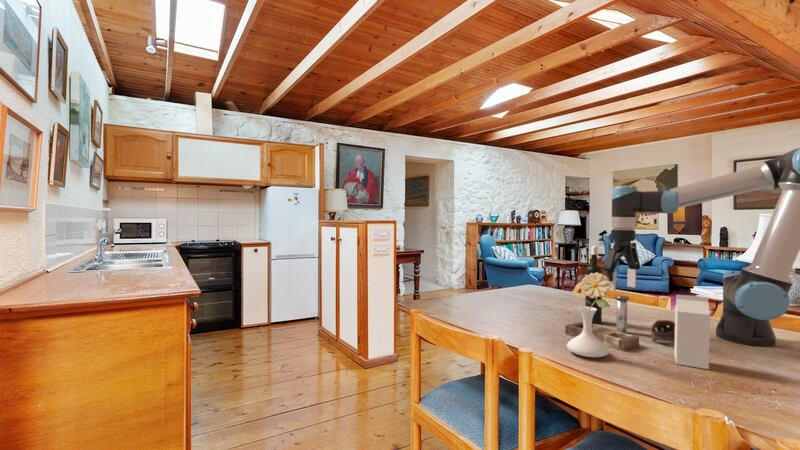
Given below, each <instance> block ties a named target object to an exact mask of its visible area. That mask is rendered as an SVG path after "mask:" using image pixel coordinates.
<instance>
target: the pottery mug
mask: <svg viewBox="0 0 800 450" xmlns="http://www.w3.org/2000/svg"><path fill="white" fill-rule="evenodd" d="M650 338H651V341H652V342H653V343H655V342H656V341H658V342H667V341H672V340H673V341H674V340H675V321H673V320H668V319H662V320H661V319H659V320H656V321H655V322H654V323H653V324H652V325H651V337H650Z"/></svg>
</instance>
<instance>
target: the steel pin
mask: <svg viewBox="0 0 800 450" xmlns="http://www.w3.org/2000/svg"><path fill="white" fill-rule="evenodd" d="M614 297H615V298H614V299H616V327H615V328H616V330H615V331H618V332H622V333H626V334H628V332H627V331H628V301H629V300H630V297H629V296H627V295H620V294H619V295H614Z"/></svg>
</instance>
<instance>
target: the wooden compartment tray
mask: <svg viewBox="0 0 800 450" xmlns="http://www.w3.org/2000/svg"><path fill="white" fill-rule="evenodd" d="M583 326H584V324H583V321H579V322H575V323H571V324H570V323H569V324H566V325H565V329H564V330H565V335H566V336H567V335H568V336H571V337H573V338H575V337H576V336H578V335H580V334H581V333H582V331H583ZM592 333H593V334H594V336H595V337H596V338H597V339H599V340H600V341H601V342H602V343H603V344H604V345H605V346H606V347H607V348H612V349H614V350H619V351H622V352H625V351H628V350H631V349H634V348H637V347H639V346H640V336H638V335H633V334H630V333H622V332H618V331H616V330H614V329H609V328H606V327H602V326H598V325H596V324H592Z"/></svg>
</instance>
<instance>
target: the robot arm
mask: <svg viewBox="0 0 800 450" xmlns="http://www.w3.org/2000/svg"><path fill="white" fill-rule="evenodd" d="M763 189H768V190H770V191H771V190H775V189H776V190H777V189H781V193H780V195H779V198H778V200H777V203H776V204H775V207H774V210H773V212H772V214H771V217H770V219H769V221H768V224H767V226H766V229H765V231H764V234H763V236H762V239H761V240H760V243H759V245H758V248H757V250H756V252H755V255H754V256H753V260H752V262H751V264H750V265H747V266H745V267H742V269H741V270H726V271H725V272H724V273H723V277H722V281H723V282H722V283H723V284H722V286H723V287H722V314H721V316H720V318H719V321H717V325H716V327H715V335H716V336H717V337H718V338H720V339H723V340H725V341H729V342H733V343H738V344H743V345H750V346H759V347H771V346H775V345H777V338H776V335H775V332H774V329H773V327H772V324H771V322H770V320H774V319H778V318H780V317H781V316H784V314H786V313H787V311H788V310H789V308H790V297H789V293H790V291H791V289H792V286H793V284H794V281H793V280H792V279H791V277H790V276H789V275H790V272H791V271H792V268H793V266H794V264H795V262H796V260H797V257H798V255H799V254H800V253H799V252H800V146H799V147H797V148H795V149H791V150H790V151H788V152H786V153H783V154H782V155H779V156H777V157H774V158H772V159H767V160H764V161H761V162H760V163H759V164H758V165H757V166H753V167H750V168H746V169H741V170H738V171H734V172H731V173H727V174H723V175H719V176H718V175H717V176H716V177H711V178H709V179H703V180H699V181H695V182H692V183H688V184H686V185H682V186H677V187H673V188H669V189H665V190H653V191H652V190H649V191H641V190H640V191H639V190H638V187H637V186H635V185H617V186H614V187H613V188H612V195H611V196H612V197H611V220H610V223H611V226H610V227H611V230H610V239H611V240H612V241H614V242H609V243H608V250H607V252H606V256H605V260H604V263H603V265H602V271H604V272H606V277H607V278H609V280H608V281H610V283H609V284H610V285H611V287H610V289H609V291H610V292H611V291H612V292H615V291H616V284H617V283H616V280H617V276H616V275H617V272H616V271H615V270H616V268H617V266H618V264H619V262H620V260H621V258H624V259H625V262H626V264H627V266H628V268H627V273H626V274H627V277H626V287H629V288H637V270H640V267H641V264H640V263H641V262H640V258H639V255H638V250H637V242H634V241H636V230H635V229H636V228H637V227H636V225H637V214H638V213H639V214H641V213H643V214H644V213H645V214H651V215H652V214H653V215H657V214H676V213H677V212H678V210H679V209H681V208H682V209H683V208H685V207H690V206H694V205H698V204H699V205H700V204H703V203H707V202H711V201H715V200H719V199H724V198H728V197H731V196H736V195H737V196H738V195H741V194H747V193H749V192H754V191H757V190H758V191H759V190H763Z"/></svg>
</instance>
